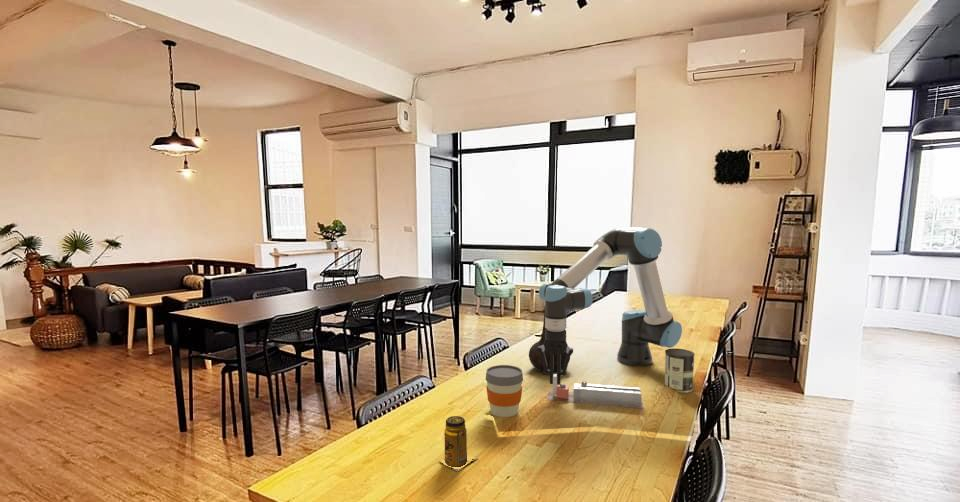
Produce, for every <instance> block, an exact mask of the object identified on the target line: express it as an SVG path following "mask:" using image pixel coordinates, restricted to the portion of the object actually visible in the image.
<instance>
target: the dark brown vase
mask: <svg viewBox="0 0 960 502" xmlns="http://www.w3.org/2000/svg"><path fill="white" fill-rule="evenodd" d="M543 308H544V309H542V310H541V311H542V312H544V313H543V324H542V331H541V337H540V339H539V340H538V341H536V342H535V343H534V344H533V345H532V346H530V348H529V351H528V358H529V361H530V363H531V365H532V366H533V368H535V369H536V370H537V371H538V372H541V373H544V374H545V371H544V367H543V363H542V359H541V355H540V353H539V351H538V347H539V346H542V345H543V344H544V342H545V330H546V328H545V305H544V307H543ZM566 351H567V349H565V351H564V352H563V353H562V354H561V371H562V370H563V367H564V363H565V360H566V356H567V352H566ZM544 353H545V357H546V361H547V365H548V369H549V370H550V354H549V353H548V351H547V350H546V348H545V350H544ZM570 360H571V358H570V359H569V362H570ZM553 374H557V355H554V373H553Z"/></svg>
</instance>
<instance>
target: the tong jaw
mask: <svg viewBox="0 0 960 502" xmlns="http://www.w3.org/2000/svg"><path fill="white" fill-rule="evenodd" d="M581 387H591V388H603V389H615V390H627V391H639V392H641V393H642V390H641V387H638V386H624V385H612V384H611V385H610V384H598V383H596V384H595V383H588V382H587V381H582V382H581Z"/></svg>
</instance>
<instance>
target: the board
mask: <svg viewBox="0 0 960 502" xmlns="http://www.w3.org/2000/svg"><path fill="white" fill-rule="evenodd" d="M573 395H574V392H571V391H569V395H568V399H563V398H557V394H553V390H548V392H547V396H546V401H551V402H563V403H573V404H576V403H575V402H573ZM643 402H644V401H643V400H642V398H641V408H634V407H625V408H626V409H627V408H628V409H637V410H639V409H641V410H645V406H644V403H643ZM581 404H584V405H585V404H586V405H591V404H590V403H581ZM592 405H596V406H602V405H601V404H592ZM603 406H605V407H613V406H612V405H603ZM614 407H615V408H624V407H623V406H614Z"/></svg>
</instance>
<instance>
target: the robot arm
mask: <svg viewBox="0 0 960 502" xmlns="http://www.w3.org/2000/svg"><path fill="white" fill-rule="evenodd" d="M662 242H663V241H662V238H661V235H660V234H659V233H658V231H656V230H655V229H653V228H647V227H644V226H641V227H626V226H621V227H616V228H613V229H612V230H610V231H608V232H606V233H604V234H602V235H601V236H600V237H599V238H598V239H596V240H595V242H593V245H592V247H591V248H590V249H589V250H587V252H585V253H584V254H583V255H582V256H581V257H580V258H578V259H577V260H576V261H575V262H574V263H573V264H572V265H571V266H569V267H568V268H567V269H566V270H565V271H564V272H562V273H561V274H560V275H559V276H558V277H557V278H556V279H555V280H553V281H552V282H551V283H550V282H549V283H548V282H547V283H543V284H542V285H541V286H540V287H539V289H538V297H539V299H540V300H541V301H542V302H544V306H545V328H546V330H545V342H544V344H543V345H542V346H539V347H538V351H539V353H540V355H541V359H542V363H543V367H544V371H545V373H544V374H546V375H549V385H552V391H553V394H557V385H560V384H562V383H561V379H562V378H561V376H565V375H566V373H567V370H568V366H569V363H570V361H569V359H570V360H571V356H572V354H573V353H574V348H573V347H570V346H568V342H567V330H566V329H567V312H570V311H577V310H584V309H588V308H590V307H591V306H592V304H593V300H594V299H593V293H592V292H591V290H589V289H588V288H586V287H585V288H584V287H583V288H582V287H580V288H577V287H578V286H579V285H580V284H581V283H583V281H585V279H587V278H588V277H589V276H590V275H591V274H592V273H593V272H595V270H596V269H598V268H599V267H600V266H601V265H602V264H603V263H604V262H606V261H610V260H611V259H612V258H613V257H615V256H619V255H620V256H627V260H628V264H630V265H632V266H633V269H634V271H635V276H636V279H637V283H638V287H639V292H640V296H641V299H642V302H643V308H644V309H640V310H639V309H638V310H637V309H636V310H626V311H624V312H623V313H622V316H621V317H622V318H621V343H620V347H619V349H618V352H617V354H616V355H617V358H616V359H617V361H618V362H620V363H622V364H625V365H630V366H636V367H637V366H638V367H639V366H641V367H643V366H645V367H646V366H649V365H651V364H652V363H653V356H652V352H651V349H650V346H649V344H653V345H656V346H659V347H662V348H668V349H672V348H675V346H677V344H678V343H679V342H680V339H681V337H682V334H683V328H682V324H681V323H680V322H679V321H677V320H674V316H673V313H672V312H671V311H670V310H668V307H667V303H666V299H665V295H664V291H663V287H662V283H661V279H660V275H659V270H658V266H657V262H656V261H657V260H658V258H659V255H661V254H660V253H661V252H662V247H663V243H662ZM545 348H546V350H547V351H548V353H549V354H550V370H549V369H548V365H547V361H546V357H545V353H544V350H545ZM565 349H567V351H566V352H567V356H566V360H565V363H564V367H563V370H562V371H561V354H562V353H563V352H564V351H565ZM554 355H557V373H554Z"/></svg>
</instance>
